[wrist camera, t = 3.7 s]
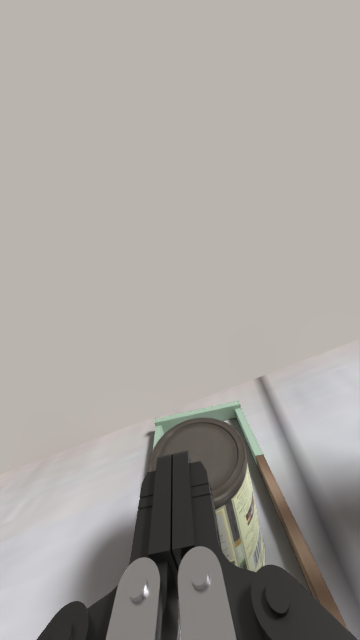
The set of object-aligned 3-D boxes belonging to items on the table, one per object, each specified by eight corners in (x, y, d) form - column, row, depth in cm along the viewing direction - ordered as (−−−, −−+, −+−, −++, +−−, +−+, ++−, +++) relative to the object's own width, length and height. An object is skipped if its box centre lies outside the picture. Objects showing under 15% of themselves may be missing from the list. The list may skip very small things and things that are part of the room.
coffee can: (181, 501, 31) (158, 422, 28) (252, 496, 30) (236, 411, 26) (174, 613, 21) (136, 510, 18) (280, 613, 20) (260, 500, 16)
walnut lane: (856, 1726, 4) (910, 1789, 4) (30, 1773, 5) (-7, 1834, 4) (240, 412, 46) (239, 404, 45) (158, 430, 46) (156, 422, 46)
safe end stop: (265, 464, 33) (262, 449, 33) (152, 488, 34) (147, 473, 33) (240, 412, 46) (238, 400, 45) (158, 430, 46) (154, 419, 45)
